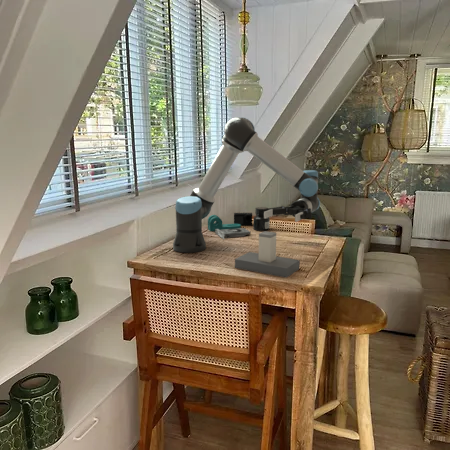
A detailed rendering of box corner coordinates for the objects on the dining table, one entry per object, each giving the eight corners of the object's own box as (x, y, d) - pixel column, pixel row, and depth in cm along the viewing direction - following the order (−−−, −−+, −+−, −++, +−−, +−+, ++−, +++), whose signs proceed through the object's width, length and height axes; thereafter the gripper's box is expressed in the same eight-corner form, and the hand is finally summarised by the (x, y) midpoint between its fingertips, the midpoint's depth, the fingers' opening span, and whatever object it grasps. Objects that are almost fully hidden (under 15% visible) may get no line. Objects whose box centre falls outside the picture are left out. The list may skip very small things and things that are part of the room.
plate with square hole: (234, 270, 169) (234, 259, 168) (249, 262, 179) (249, 251, 178) (286, 280, 158) (286, 268, 157) (299, 271, 168) (299, 260, 167)
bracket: (210, 231, 233) (210, 217, 232) (207, 229, 240) (207, 215, 238) (242, 229, 237) (242, 215, 236) (239, 227, 244) (239, 213, 242)
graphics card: (222, 234, 215) (215, 228, 226) (222, 241, 216) (214, 235, 227) (253, 231, 220) (245, 226, 231) (253, 238, 221) (244, 233, 232)
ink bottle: (270, 231, 233) (270, 209, 230) (253, 231, 233) (254, 209, 230) (268, 227, 242) (269, 206, 240) (253, 227, 243) (253, 206, 240)
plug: (258, 268, 167) (258, 233, 164) (264, 265, 172) (264, 231, 169) (269, 271, 165) (270, 235, 162) (275, 267, 169) (276, 232, 166)
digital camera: (234, 226, 245) (234, 214, 244) (233, 224, 251) (233, 212, 249) (252, 226, 245) (252, 214, 244) (251, 224, 251) (251, 212, 249)
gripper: (327, 219, 184) (309, 229, 166) (274, 214, 197) (252, 222, 179) (328, 201, 182) (309, 209, 165) (274, 197, 195) (252, 205, 178)
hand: (279, 216), depth 172 cm, fingers open, 13 cm apart
